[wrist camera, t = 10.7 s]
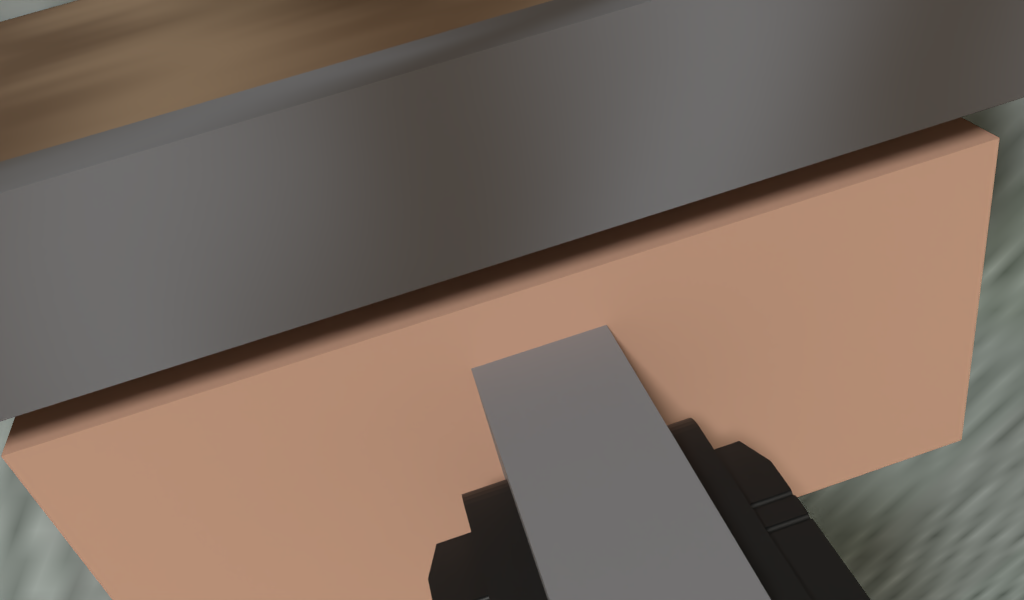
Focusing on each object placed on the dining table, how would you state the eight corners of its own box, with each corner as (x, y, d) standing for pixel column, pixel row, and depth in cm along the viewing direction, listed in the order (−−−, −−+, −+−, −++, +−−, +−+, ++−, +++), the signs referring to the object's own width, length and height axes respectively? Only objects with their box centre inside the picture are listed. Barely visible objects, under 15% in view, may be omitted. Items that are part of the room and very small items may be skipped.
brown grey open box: (889, -242, 19) (1446, -234, 10) (875, 228, 26) (1198, 480, 17) (-215, 65, 17) (-733, 409, 8) (84, 485, 24) (-20, 922, 15)
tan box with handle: (740, -1, 19) (1374, 337, 8) (753, 233, 22) (1211, 688, 12) (96, 189, 18) (-149, 876, 7) (215, 406, 21) (171, 1087, 10)
